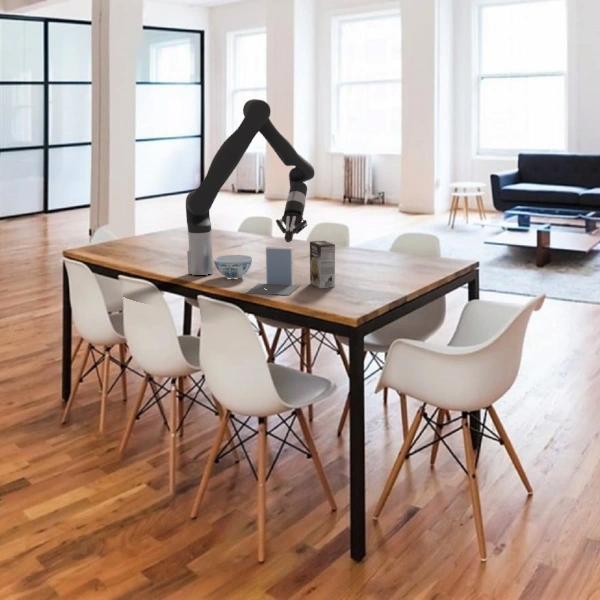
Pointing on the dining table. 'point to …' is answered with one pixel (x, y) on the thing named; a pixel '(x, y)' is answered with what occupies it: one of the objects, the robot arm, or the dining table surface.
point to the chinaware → (233, 265)
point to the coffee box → (322, 264)
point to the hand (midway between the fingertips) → (287, 241)
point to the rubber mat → (273, 289)
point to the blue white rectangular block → (280, 265)
